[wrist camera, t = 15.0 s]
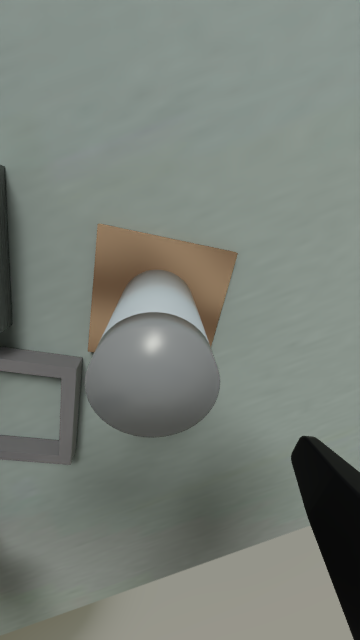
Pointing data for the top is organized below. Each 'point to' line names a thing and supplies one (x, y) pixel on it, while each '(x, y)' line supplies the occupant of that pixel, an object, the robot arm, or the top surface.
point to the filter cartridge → (153, 360)
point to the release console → (4, 260)
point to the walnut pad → (156, 254)
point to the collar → (69, 411)
